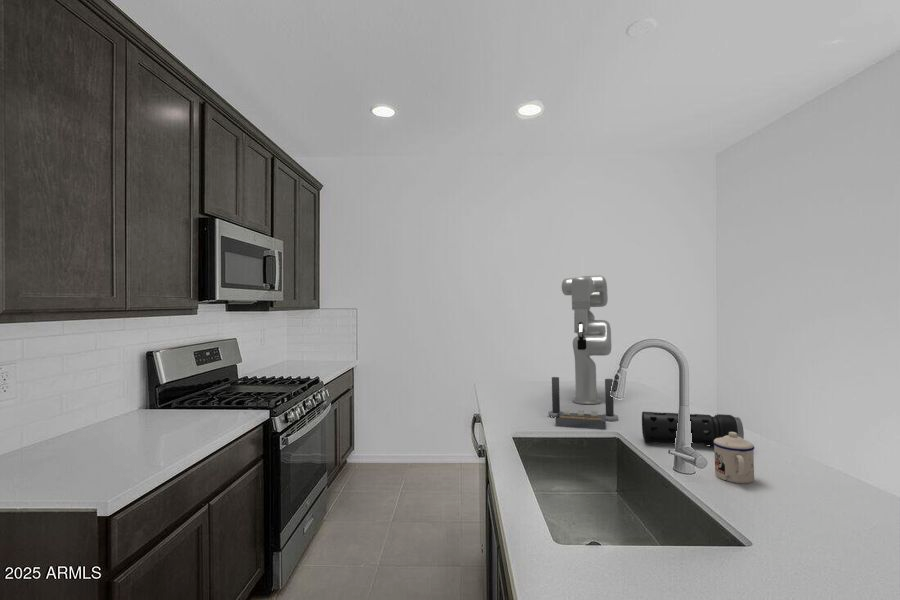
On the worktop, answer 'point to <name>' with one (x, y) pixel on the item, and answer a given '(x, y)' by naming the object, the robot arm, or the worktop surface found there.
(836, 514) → the worktop surface
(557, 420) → the breaker panel
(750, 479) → the teacup with lid
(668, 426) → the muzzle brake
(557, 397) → the post
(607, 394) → the post
